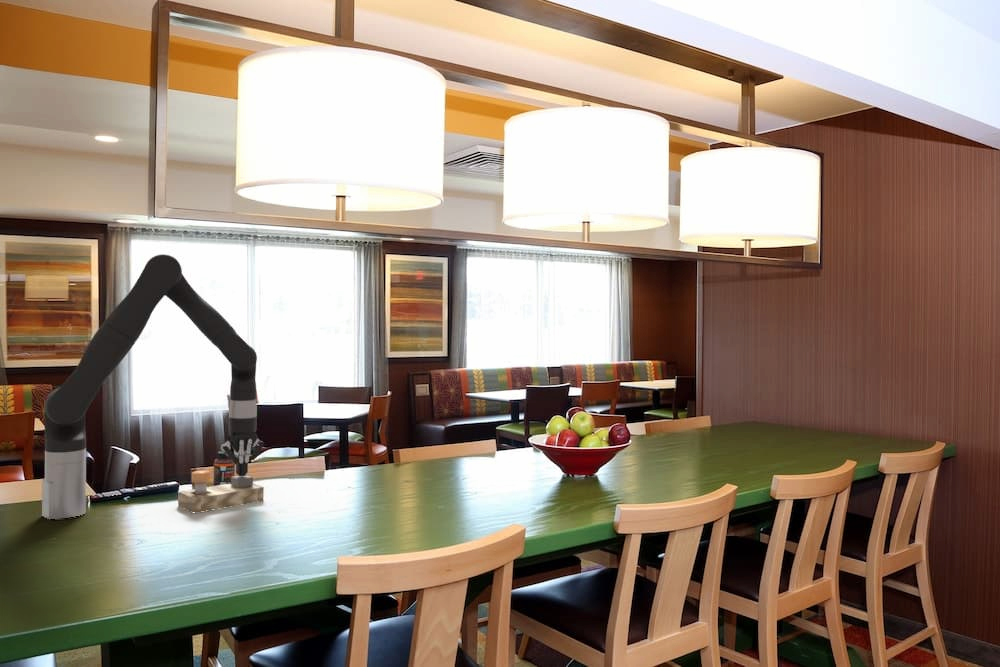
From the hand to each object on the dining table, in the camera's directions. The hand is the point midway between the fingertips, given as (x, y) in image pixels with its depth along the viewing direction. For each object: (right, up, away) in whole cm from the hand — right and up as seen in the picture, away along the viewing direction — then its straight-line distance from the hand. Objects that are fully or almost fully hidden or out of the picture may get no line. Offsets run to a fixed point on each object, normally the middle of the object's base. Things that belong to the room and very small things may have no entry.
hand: (241, 475), depth 212 cm
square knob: (0, -6, 0) cm, 6 cm away
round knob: (-8, -3, -8) cm, 12 cm away
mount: (-4, -7, -4) cm, 9 cm away
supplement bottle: (-10, -7, +12) cm, 17 cm away
